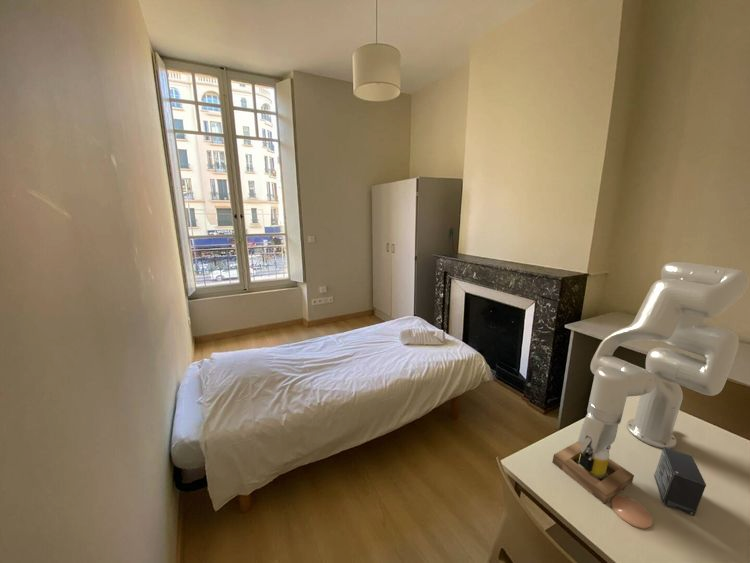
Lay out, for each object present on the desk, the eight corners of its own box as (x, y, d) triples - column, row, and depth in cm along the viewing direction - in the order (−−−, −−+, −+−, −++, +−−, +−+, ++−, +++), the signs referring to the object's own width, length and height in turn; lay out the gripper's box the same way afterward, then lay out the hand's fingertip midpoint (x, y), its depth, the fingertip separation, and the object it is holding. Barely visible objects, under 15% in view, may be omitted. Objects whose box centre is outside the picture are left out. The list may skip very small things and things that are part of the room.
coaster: (621, 492, 82) (622, 491, 82) (658, 519, 75) (658, 517, 75) (604, 505, 79) (605, 503, 79) (641, 534, 72) (641, 532, 72)
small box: (697, 518, 75) (708, 485, 73) (662, 505, 79) (672, 473, 76) (683, 485, 84) (693, 455, 81) (653, 474, 87) (661, 445, 85)
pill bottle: (608, 484, 84) (617, 451, 81) (583, 480, 86) (590, 447, 83) (597, 465, 91) (604, 433, 88) (573, 461, 92) (580, 430, 89)
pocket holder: (579, 447, 97) (581, 439, 97) (631, 483, 85) (634, 475, 84) (552, 462, 92) (553, 454, 91) (604, 503, 79) (606, 495, 78)
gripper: (607, 394, 89) (596, 443, 94) (571, 412, 82) (561, 464, 87) (637, 409, 83) (623, 461, 88) (601, 430, 76) (588, 485, 80)
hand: (592, 462), depth 87 cm, fingers closed on pill bottle, 6 cm apart
